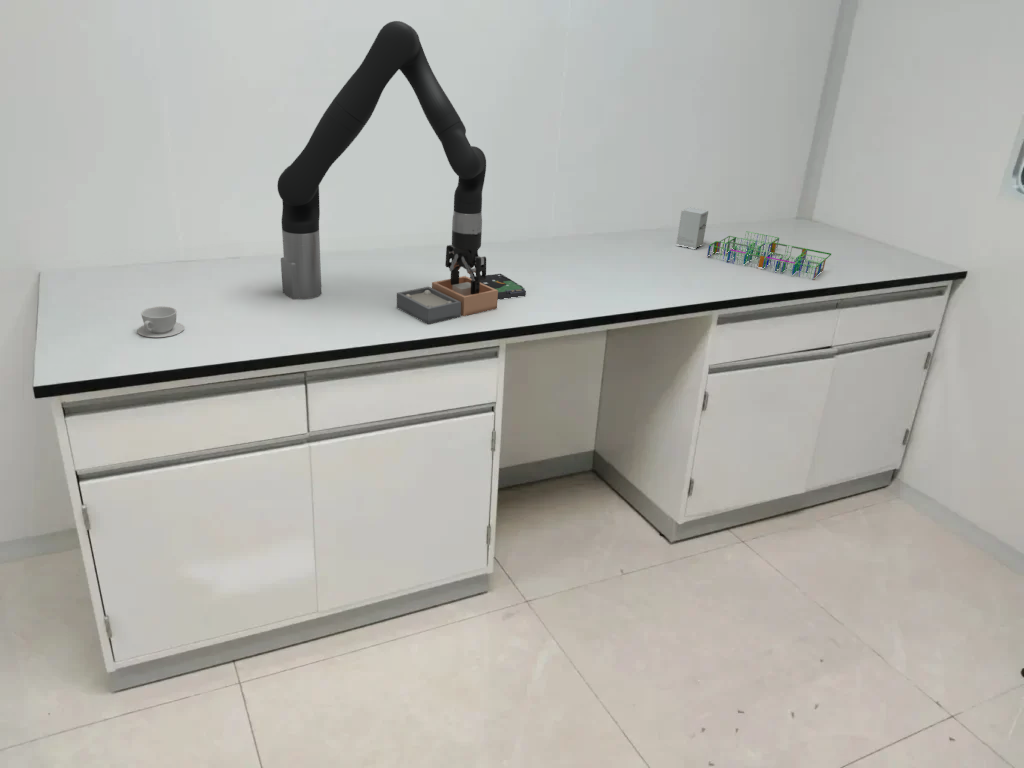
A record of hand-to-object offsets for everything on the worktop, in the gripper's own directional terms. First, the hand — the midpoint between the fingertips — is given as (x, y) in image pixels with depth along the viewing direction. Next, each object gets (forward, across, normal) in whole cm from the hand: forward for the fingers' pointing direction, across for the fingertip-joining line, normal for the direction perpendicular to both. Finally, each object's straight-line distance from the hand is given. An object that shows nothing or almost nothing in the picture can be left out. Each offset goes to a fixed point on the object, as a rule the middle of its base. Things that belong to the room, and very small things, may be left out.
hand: (464, 289), depth 213 cm
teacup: (+5, -22, -71) cm, 74 cm away
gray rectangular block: (+3, 0, 0) cm, 3 cm away
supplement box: (+4, -8, +104) cm, 105 cm away
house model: (+5, +18, +116) cm, 118 cm away
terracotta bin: (+4, 0, 0) cm, 4 cm away
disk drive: (+5, -5, +15) cm, 17 cm away
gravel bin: (+4, 0, -12) cm, 12 cm away
